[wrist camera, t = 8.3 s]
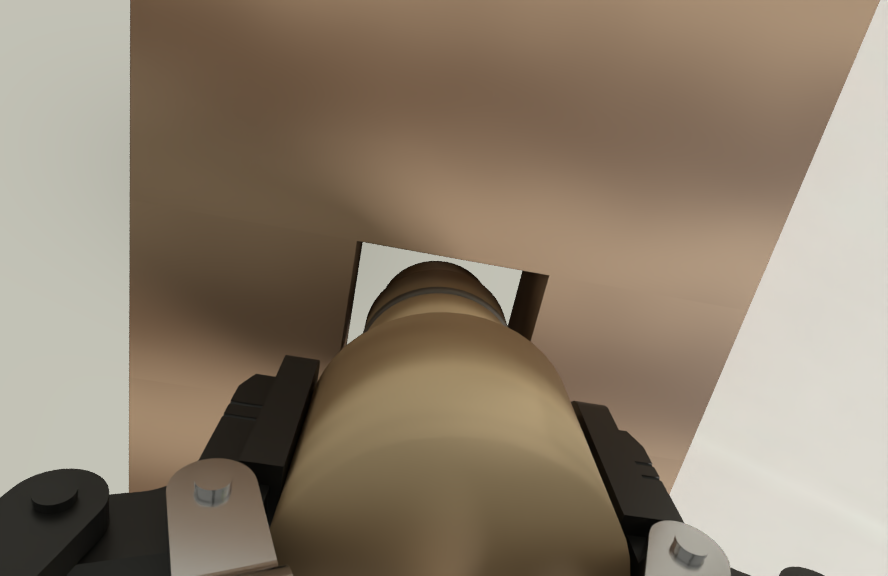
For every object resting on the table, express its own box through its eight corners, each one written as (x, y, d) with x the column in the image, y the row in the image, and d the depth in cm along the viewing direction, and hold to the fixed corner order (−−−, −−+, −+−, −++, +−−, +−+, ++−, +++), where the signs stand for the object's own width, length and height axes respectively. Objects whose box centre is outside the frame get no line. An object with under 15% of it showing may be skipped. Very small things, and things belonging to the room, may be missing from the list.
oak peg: (356, 208, 17) (277, 409, 8) (546, 243, 18) (682, 467, 8) (331, 377, 19) (245, 694, 10) (503, 404, 20) (573, 726, 10)
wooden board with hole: (188, -180, 14) (130, -233, 11) (815, -28, 16) (897, -43, 13) (165, 531, 22) (128, 601, 20) (580, 584, 24) (600, 655, 21)
